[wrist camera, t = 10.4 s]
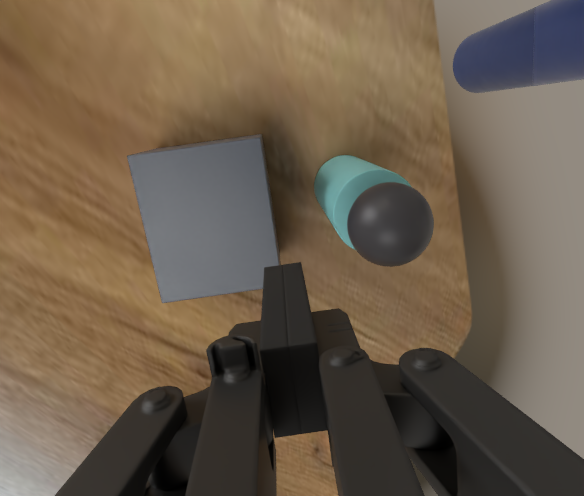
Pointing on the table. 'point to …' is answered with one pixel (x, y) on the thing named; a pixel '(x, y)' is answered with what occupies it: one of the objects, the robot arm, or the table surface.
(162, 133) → the table surface
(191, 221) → the gray block
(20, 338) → the table surface
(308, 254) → the table surface
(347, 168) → the teal cylinder with ball
